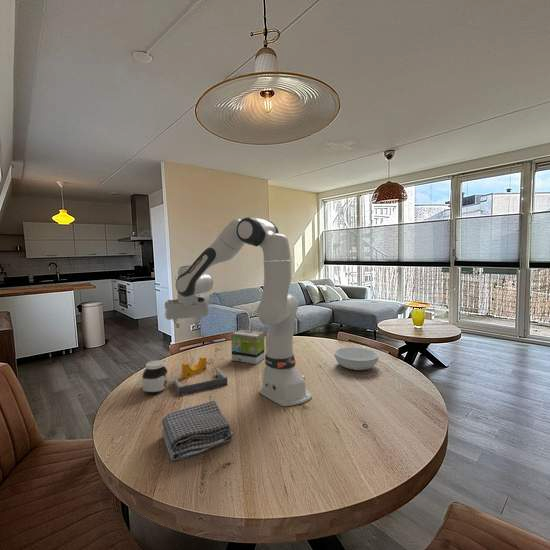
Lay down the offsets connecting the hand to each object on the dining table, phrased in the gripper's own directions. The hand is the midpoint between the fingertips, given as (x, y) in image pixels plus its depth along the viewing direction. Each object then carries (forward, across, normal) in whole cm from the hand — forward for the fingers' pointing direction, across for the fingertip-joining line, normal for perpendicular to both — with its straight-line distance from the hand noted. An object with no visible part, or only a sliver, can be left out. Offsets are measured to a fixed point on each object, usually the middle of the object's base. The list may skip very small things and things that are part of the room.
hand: (187, 326), depth 146 cm
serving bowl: (+19, +72, -42) cm, 85 cm away
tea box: (+20, +30, -5) cm, 37 cm away
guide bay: (+20, 0, -21) cm, 30 cm away
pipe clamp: (+21, +1, -8) cm, 23 cm away
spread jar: (+21, -18, -17) cm, 32 cm away
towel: (+20, -11, -60) cm, 64 cm away
